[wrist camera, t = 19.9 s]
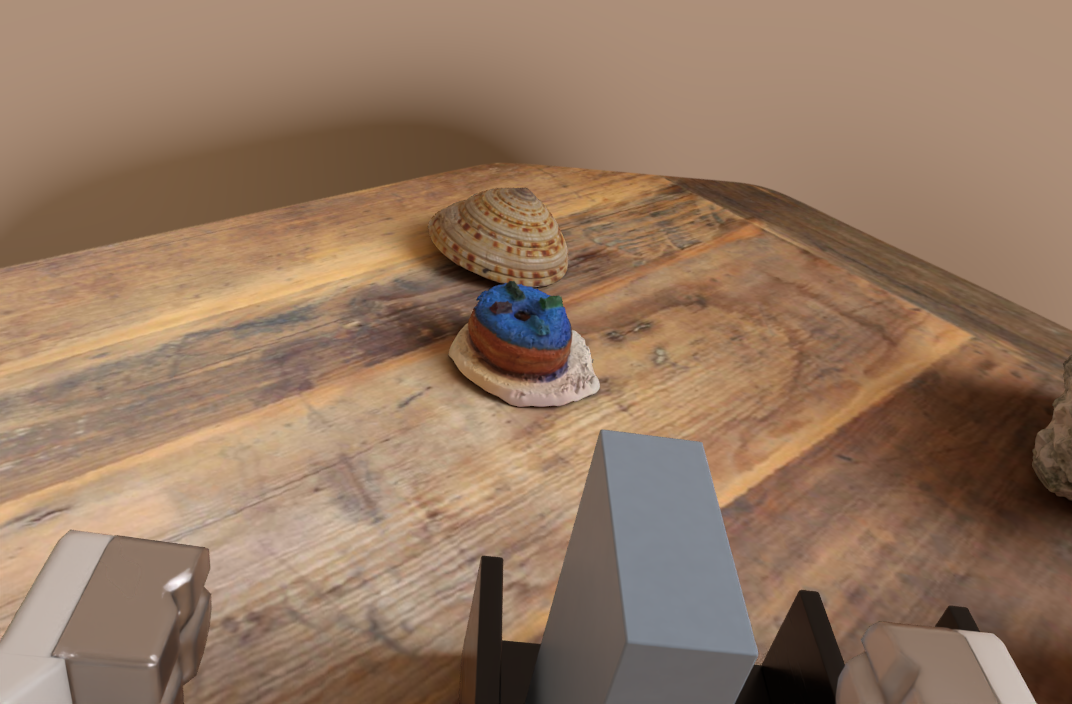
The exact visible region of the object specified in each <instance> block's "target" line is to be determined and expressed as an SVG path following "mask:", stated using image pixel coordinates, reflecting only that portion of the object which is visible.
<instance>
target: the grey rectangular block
mask: <svg viewBox="0 0 1072 704" xmlns="http://www.w3.org/2000/svg"><path fill="white" fill-rule="evenodd" d="M757 657H758V650H757V646H756V643H755V639H754V635H753V631H752V628H751V624H750V620H749V616H748V613H747V609H746V605H745V601H744V598H743V594H742V590H741V586H740V583H739V579H738V575H737V571H736V568H735V564H734V560H733V556H732V553H731V549H730V545H729V541H728V538H727V534H726V530H725V526H724V523H723V519H722V515H721V511H720V507H719V504H718V500H717V496H716V492H715V489H714V485H713V481H712V477H711V474H710V470H709V466H708V462H707V459H706V455H705V451H704V447H703V444H702V442H697V441H689V440H681V439H674V438H666V437H658V436H650V435H642V434H634V433H626V432H618V431H610V430H601V431H600V433H599V436H598V440H597V444H596V447H595V451H594V454H593V458H592V462H591V465H590V469H589V473H588V476H587V480H586V483H585V487H584V491H583V494H582V498H581V501H580V505H579V509H578V512H577V516H576V520H575V523H574V527H573V530H572V534H571V538H570V541H569V545H568V548H567V552H566V556H565V559H564V563H563V567H562V570H561V574H560V577H559V581H558V585H557V588H556V592H555V596H554V599H553V603H552V606H551V610H550V614H549V617H548V621H547V624H546V628H545V632H544V635H543V639H542V643H541V646H540V650H539V653H538V657H537V661H536V664H535V668H534V672H533V675H532V679H531V682H530V686H529V690H528V693H527V697H526V700H525V704H734V703H735V701H736V699H737V697H738V695H739V693H740V691H741V689H742V687H743V685H744V683H745V681H746V679H747V677H748V675H749V673H750V671H751V669H752V667H753V665H754V663H755V661H756V659H757Z"/></svg>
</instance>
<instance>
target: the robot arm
mask: <svg viewBox="0 0 1072 704" xmlns="http://www.w3.org/2000/svg"><path fill="white" fill-rule="evenodd" d="M209 571H210V557H209V549H208V548H205V547H199V546H191V545H184V544H177V543H169V542H162V541H155V540H147V539H140V538H133V537H126V536H118V535H117V536H116V535H108V534H100V533H92V532H84V531H76V530H70V531H68V532H67V533H66V534H65V535H64V536H63V537H62V538H61V539H60V540H59V541H58V542H57V544H56V545H55V547H54V549H53V551H52V552H51V554H50V556H49V557H48V559H47V561H46V563H45V564H44V566H43V568H42V570H41V571H40V573H39V575H38V576H37V578H36V580H35V582H34V583H33V585H32V587H31V588H30V590H29V592H28V594H27V595H26V597H25V599H24V601H23V602H22V604H21V606H20V607H19V609H18V611H17V613H16V614H15V616H14V618H13V620H12V621H11V623H10V625H9V626H8V628H7V630H6V632H5V633H4V635H3V637H2V638H1V640H0V704H184V695H183V686H184V685H185V684H186V683H187V682H189V681H190V680H191V679H192V678H194V677H195V676H196V675H197V672H198V669H199V666H200V663H201V660H202V657H203V654H204V650H205V645H206V641H207V637H208V632H209V628H210V618H211V594H210V593H209V592H208V590H207V589H206V588H205V587H204V585H205V582H206V579H207V576H208V574H209ZM861 641H862V643H863V646H864V649H865V652H864V653H862V654H860V655H858V656H856V657H854V658H853V659H851V660H849V661H847V663H846V665H845V667H844V669H843V670H842V672H841V674H840V676H839V678H838V683H837V691H836V704H1037V703H1036V701H1035V700H1034V698H1033V696H1032V694H1031V692H1030V690H1029V689H1028V687H1027V685H1026V683H1025V681H1024V680H1023V678H1022V676H1021V674H1020V672H1019V670H1018V669H1017V667H1016V665H1015V663H1014V661H1013V659H1012V658H1011V656H1010V654H1009V652H1008V650H1007V648H1006V647H1005V645H1004V643H1003V642H1002V641H1001V640H1000V639H999V638H998V637H997V636H995V635H994V634H992V633H983V632H974V631H965V630H956V629H955V630H951V629H949V628H943V627H932V626H922V625H912V624H902V623H892V622H881V621H879V622H877V623H875V624H873V625H871V626H869V628H868V629H867V631H866V632H865V634H864V635H863V637H862V639H861Z"/></svg>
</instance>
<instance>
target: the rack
mask: <svg viewBox="0 0 1072 704" xmlns="http://www.w3.org/2000/svg"><path fill="white" fill-rule="evenodd" d="M502 603H503V558H500V557H491V556H482V557H481V560H480V565H479V570H478V575H477V580H476V585H475V590H474V596H473V601H472V606H471V611H470V616H469V621H468V626H467V631H466V636H465V640H464V645H463V650H462V655H461V672H460V688H459V704H525V700H526V697H527V693H528V690H529V686H530V682H531V679H532V675H533V672H534V668H535V664H536V661H537V657H538V653H539V650H540V646H541V644H533V643H523V642H513V641H502ZM935 627H943V628H949V629H951V630H955V629H956V630H965V631H974V632H980V631H979V629H978V627H977V625H976V623H975V621H974V620H973V618H972V616H971V614H970V612H969V610H968V608H966V607H958V606H948V607H947V609H946V610H945V612H944V614H943V615H942V617H941V618H940V620H939V621H938V623H937V624H936V626H935ZM844 667H845V664H844V661H843V659H842V656H841V653H840V650H839V648H838V645H837V642H836V639H835V636H834V634H833V631H832V628H831V625H830V622H829V620H828V617H827V614H826V611H825V609H824V606H823V603H822V600H821V597H820V595H819V593H818V592H816V591H806V590H800V591H799V592H798V594H797V596H796V598H795V600H794V602H793V604H792V606H791V608H790V610H789V612H788V614H787V616H786V618H785V620H784V622H783V623H782V625H781V627H780V629H779V631H778V633H777V635H776V637H775V639H774V641H773V643H772V645H771V647H770V649H769V651H768V653H767V655H766V657H765V659H764V661H763V663H762V666H761V665H753V667H752V669H751V671H750V673H749V675H748V677H747V679H746V681H745V683H744V685H743V687H742V689H741V691H740V693H739V695H738V697H737V699H736V701H735V703H734V704H836V691H837V683H838V678H839V676H840V674H841V672H842V670H843V669H844Z"/></svg>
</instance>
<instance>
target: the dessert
mask: <svg viewBox="0 0 1072 704" xmlns="http://www.w3.org/2000/svg"><path fill="white" fill-rule="evenodd" d="M481 297H482V298H481ZM477 300H479V302H478V304H477V305H476V306H475V307H474V309H473V311H472V314H471V317H470V319H469V322H468V323H467V324H466V325H465V326H464V327H463V328H462V329H461V330H460V331H459V333H458V334H457V336H456V338H455V340H454V341H453V343H452V345H451V347H450V350H449V356H450V357H451V358H452V359H453V361H454V363H455V364H456V366H457V367H458V369H459V370H460V371H461V372H462V373H463V375H465V376H466V377H467V378H468V379H469V380H471V381H472V382H474V383H475V384H477V385H478V386H480V387H481V388H483V389H484V390H485V391H488V392H489V393H492V394H493V395H496V396H498V397H500V398H501V399H503V400H504V401H505V402H508V403H509V404H510V405H514V406H518V407H521V406H522V407H524V406H532V405H533V406H539V407H540V406H542V407H544V406H552V405H555V406H560V405H565V404H567V403H570V402H571V401H578V400H580V399H582V398H584V397H587V396H588V395H592V394H595V393H596V392H597V391H598V390H599V388H600V384H599V380H598V378H597V377H596V375H595V373H594V371H593V367H592V363H593V360H594V359H592V361H591V353H590V350H589V347H588V346H586V345H585V339H583V337H581V335H579V334H578V333H577V332H576V331H573V330H572V327H571V324H570V322H569V319H568V318H567V316H566V315H567V314H566V313H565V307H563V304H562V302H563V301H562V298H561V297H560V296H550V295H547V294H546V293H543V292H541V291H539V290H538V289H534V288H532V287H527V286H523V285H522V284H516V283H515V281H509V282H508V283H504V284H503V285H498V286H493V287H492V288H491V289H489V290H488V291H484V292H482V293H481V295H480V296H478V298H477ZM475 304H476V303H475Z"/></svg>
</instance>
